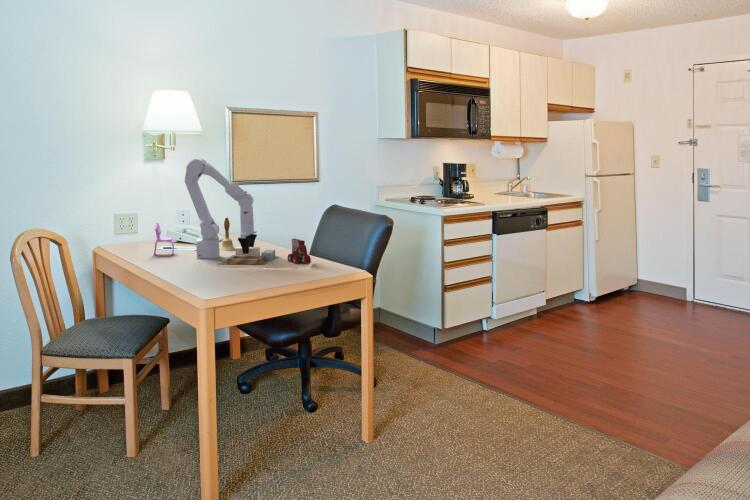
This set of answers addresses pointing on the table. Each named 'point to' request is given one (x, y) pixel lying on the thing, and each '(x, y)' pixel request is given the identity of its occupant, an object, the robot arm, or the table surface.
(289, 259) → the toy fire truck
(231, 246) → the hand bell
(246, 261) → the jig
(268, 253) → the pale blue rectangular block
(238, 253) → the tall white pillar block
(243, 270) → the table surface
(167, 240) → the toy chair
